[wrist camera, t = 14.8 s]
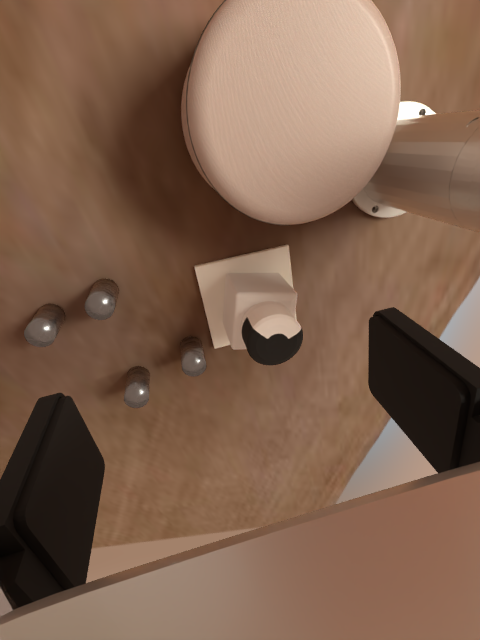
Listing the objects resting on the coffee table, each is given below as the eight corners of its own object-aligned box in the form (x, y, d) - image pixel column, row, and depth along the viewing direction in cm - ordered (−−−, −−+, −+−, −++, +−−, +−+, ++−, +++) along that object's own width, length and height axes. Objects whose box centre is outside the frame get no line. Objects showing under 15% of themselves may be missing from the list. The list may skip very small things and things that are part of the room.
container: (231, 235, 43) (254, 265, 32) (143, 75, 34) (136, 46, 24) (363, 157, 42) (429, 162, 31) (306, -30, 33) (372, -106, 23)
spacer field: (180, 260, 43) (182, 274, 38) (207, 366, 50) (212, 388, 46) (28, 295, 41) (12, 314, 37) (80, 399, 49) (72, 425, 44)
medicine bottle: (273, 321, 49) (304, 371, 38) (222, 323, 47) (240, 375, 37) (280, 272, 45) (316, 312, 35) (225, 271, 44) (245, 313, 33)
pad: (287, 244, 45) (288, 245, 44) (295, 325, 50) (297, 327, 50) (194, 265, 43) (194, 267, 43) (213, 346, 49) (214, 348, 49)
